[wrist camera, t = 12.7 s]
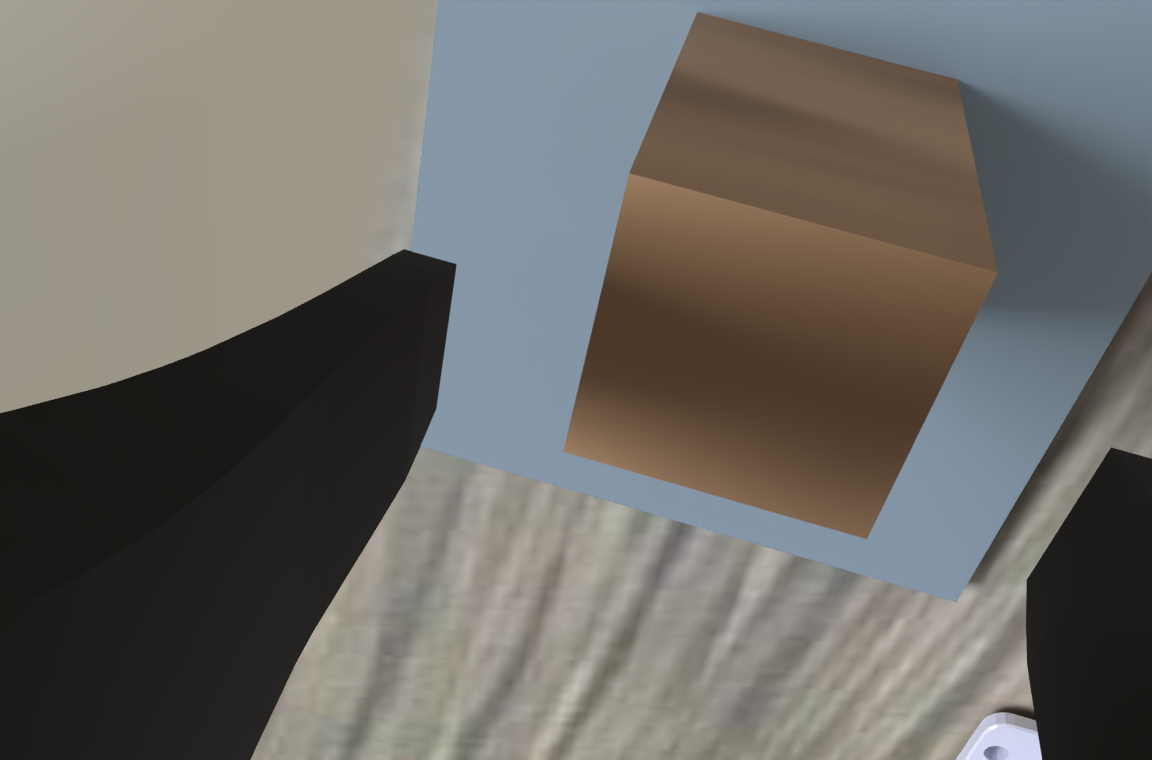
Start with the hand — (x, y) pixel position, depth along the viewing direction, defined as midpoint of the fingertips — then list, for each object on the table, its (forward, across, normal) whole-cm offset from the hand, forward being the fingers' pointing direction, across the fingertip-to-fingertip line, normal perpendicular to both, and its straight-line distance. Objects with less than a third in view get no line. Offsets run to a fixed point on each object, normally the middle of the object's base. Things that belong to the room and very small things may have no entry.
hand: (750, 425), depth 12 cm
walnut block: (+7, 0, 0) cm, 7 cm away
